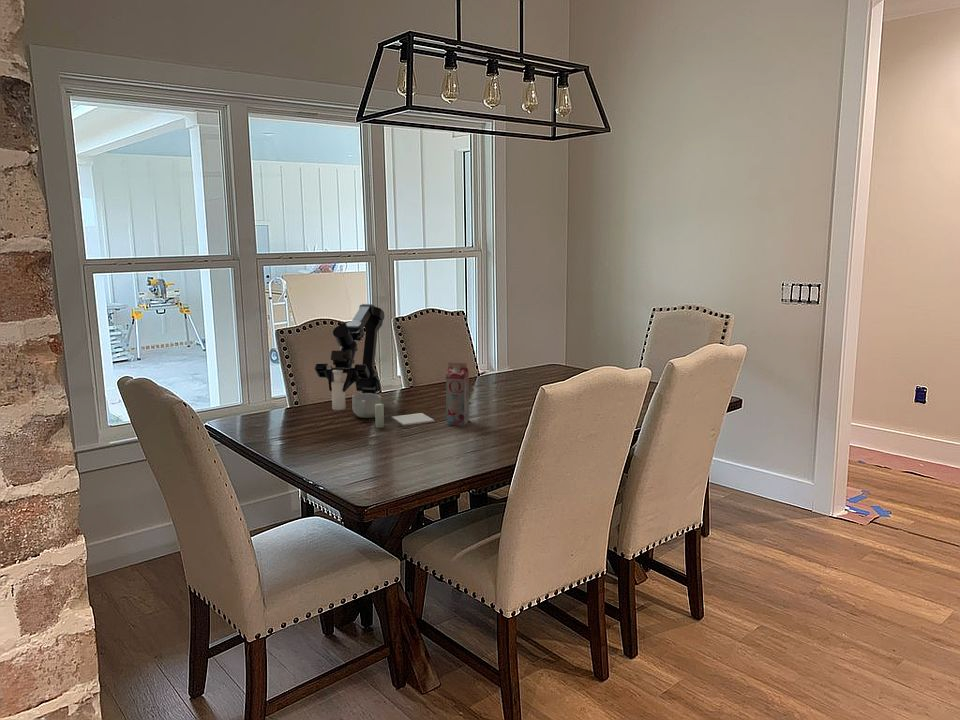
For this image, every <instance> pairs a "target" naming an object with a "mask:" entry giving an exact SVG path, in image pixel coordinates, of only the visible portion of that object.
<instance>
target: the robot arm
mask: <svg viewBox="0 0 960 720" xmlns="http://www.w3.org/2000/svg"><path fill="white" fill-rule="evenodd" d="M358 308H359V309H358V310H357V312H356V314H355V315H354V317H353V318H352V320H351V321H349V322H340V324H339V325H337V326H336V327H335V328H334V329H333V331H332V334H333V337H334V339H335V340H336V343H337V345H338V346H339V347H340V348H339V349H338V350H331V351H330V360H331V361H332V365H333V366H332V365H329V364H328V363H327V362H317V363H316V364H315V366H314V370H315V372H316V375H317V376H318V378H322V379H323V378H326V379H327V380H328V388H329V389H328V390H329V391H330V392H332V387H331V382H332V381H334V373H332V370H338V369H339V370H343V372H342V374H346V378H345V380H344V381H345V383H344V387H343V392H345V393H346V391H347V390H348V389H349V388H350V387H351V386H352V385H353V384H354V383H355V388H356V391H357V392H361V393H371V394H377V393H378V392H381V391H382V384H381V381H380V379H379V376H378V372H377V370H376V368H375V361H376V350H377V339H378V331H379V330H380V329H381V328H382V326H383V322H384V319H385V312H384V310H383V309H382V308H380V307H378V306H375V305H374V304H371V303H362V304H360V305H359V307H358ZM364 328H365V330H364ZM363 338H364V345H363V355H362V362H361V363H355V356H356V352H358V344H357V341H358V342H359V341H362V339H363ZM353 365H354V367H353Z"/></svg>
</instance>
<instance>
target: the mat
mask: <svg viewBox="0 0 960 720" xmlns="http://www.w3.org/2000/svg"><path fill="white" fill-rule="evenodd" d="M391 419H392V420H394V421H396V422H397V423H399V424H400V425H402V426H412V425H413V426H414V425H418V424H419V425H421V424H427V423H435V419H433V418H431V417H430V416H428V415H426V414H424V413H423V412H421V413H412V414H410V413H409V414H404V415H403V414H402V415H393V416H391Z"/></svg>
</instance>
